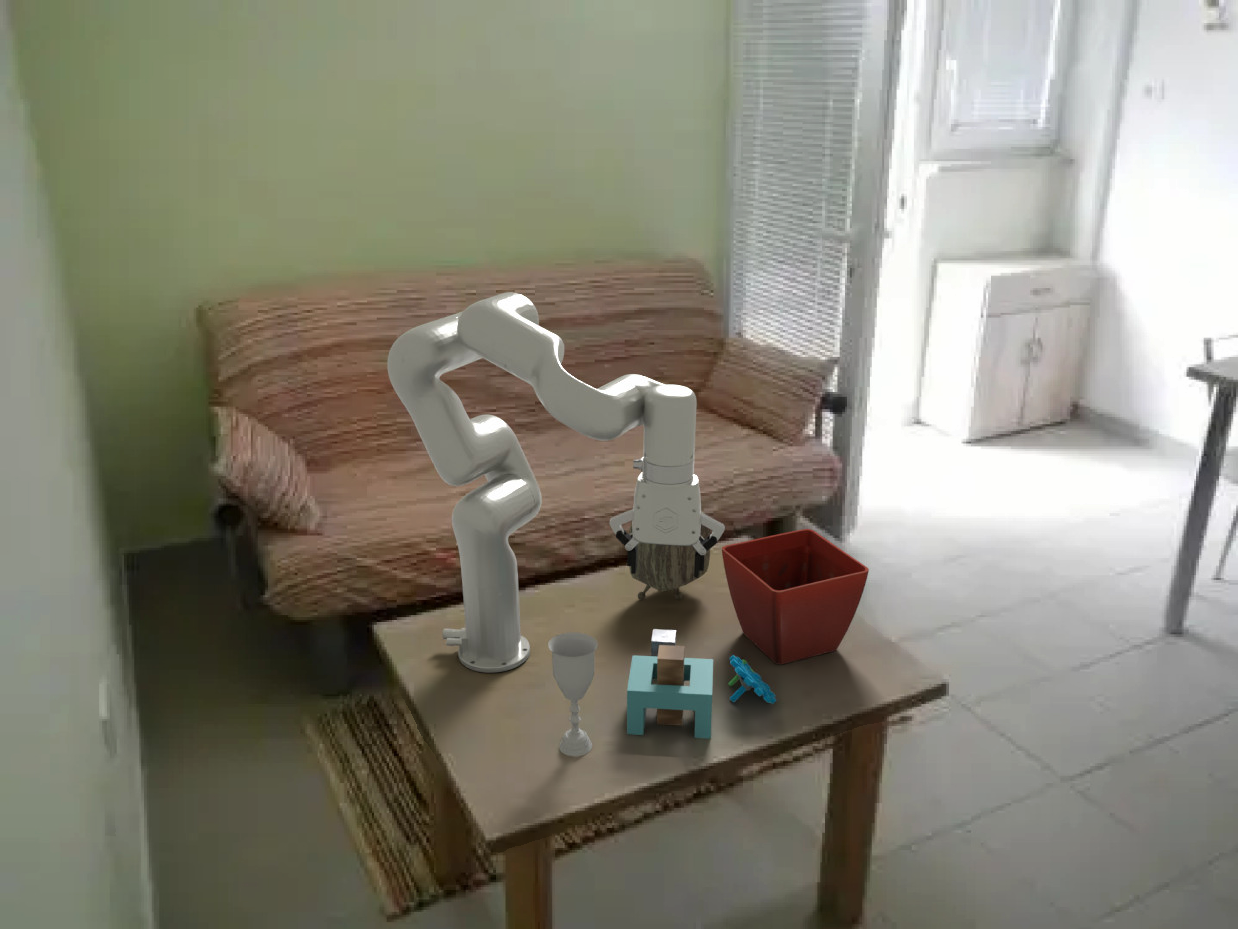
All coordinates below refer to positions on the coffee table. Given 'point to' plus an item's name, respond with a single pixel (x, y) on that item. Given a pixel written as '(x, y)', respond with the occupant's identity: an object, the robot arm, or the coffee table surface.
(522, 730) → the coffee table surface
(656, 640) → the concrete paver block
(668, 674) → the walnut pin
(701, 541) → the robot arm
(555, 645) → the chalice
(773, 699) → the gear
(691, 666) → the bridge block
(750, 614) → the plant pot
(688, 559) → the tabletop clock
